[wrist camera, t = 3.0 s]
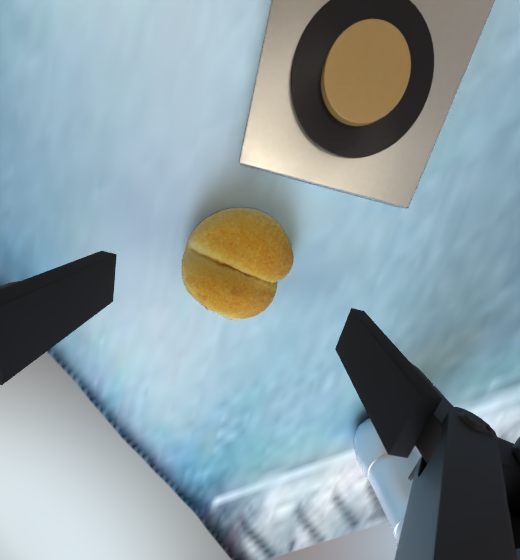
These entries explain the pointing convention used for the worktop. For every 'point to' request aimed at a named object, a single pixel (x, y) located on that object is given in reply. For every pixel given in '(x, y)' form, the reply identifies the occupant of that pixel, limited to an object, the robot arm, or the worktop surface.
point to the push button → (358, 90)
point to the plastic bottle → (386, 474)
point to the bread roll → (236, 262)
